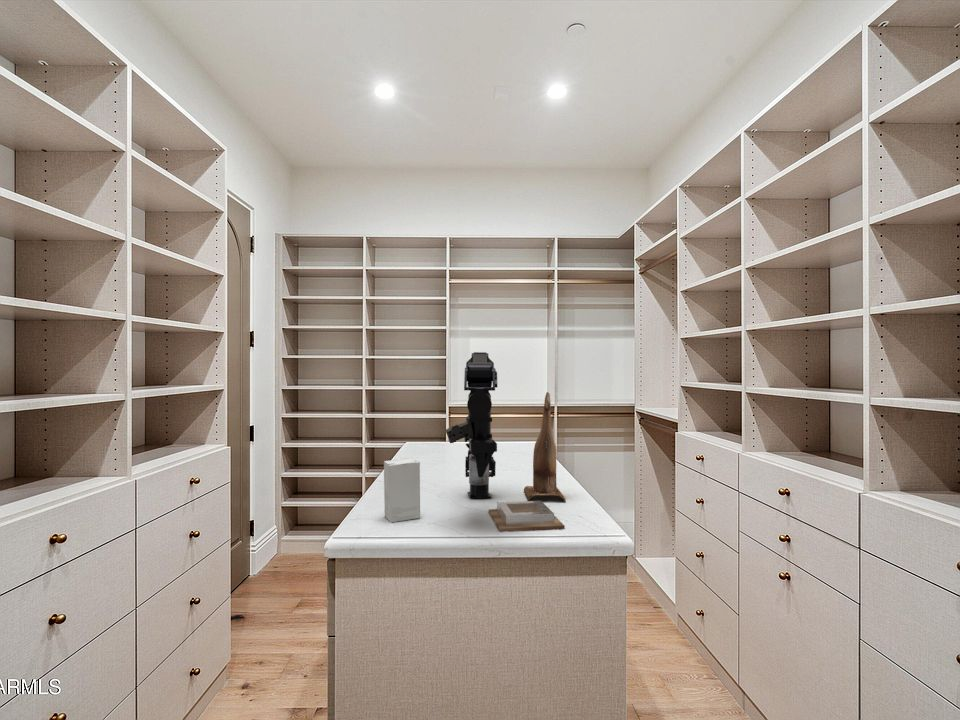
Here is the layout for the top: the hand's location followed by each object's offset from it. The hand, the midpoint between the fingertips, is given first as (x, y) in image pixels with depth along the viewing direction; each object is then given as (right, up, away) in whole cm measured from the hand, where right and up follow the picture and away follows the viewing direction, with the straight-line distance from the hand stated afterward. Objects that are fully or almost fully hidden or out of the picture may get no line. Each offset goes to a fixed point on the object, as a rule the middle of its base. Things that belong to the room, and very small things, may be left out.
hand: (479, 474), depth 125 cm
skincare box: (-20, -12, +3) cm, 24 cm away
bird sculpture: (+19, -13, +24) cm, 33 cm away
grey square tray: (+12, -12, +2) cm, 17 cm away
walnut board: (+12, -12, +2) cm, 17 cm away
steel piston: (0, -2, 0) cm, 2 cm away
